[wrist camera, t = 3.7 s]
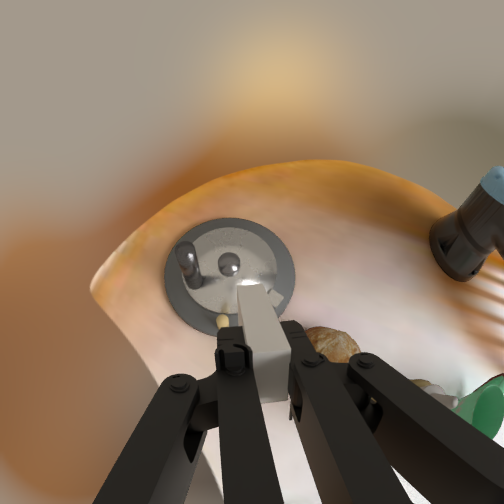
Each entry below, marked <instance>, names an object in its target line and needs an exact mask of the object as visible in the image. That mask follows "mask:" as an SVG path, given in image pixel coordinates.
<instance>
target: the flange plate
mask: <svg viewBox="0 0 504 504" xmlns="http://www.w3.org/2000/svg"><path fill="white" fill-rule="evenodd" d="M175 255H176V258H177V261H178V263H179V266H180V268H181V271H182V278H183V282H184V285H185V287H186V289H187V292H188V293H189V295H190V296H191V298H192V299H193V300H194V301H195V302H196V303H197V304H198V305H199V306H201V307H202V308H204V309H206V310H208V311H210V312H212V313H215V314H220V315H221V314H224V315H238V305H237V285H250V284H263V285H264V288H265V290H266V292H267V294H268V297H269V299H270V301H271V304H272V306H273V308H274V310H276V309H277V307H278V306H279V305H280V303H281V302H282V300H283V299H284V297H283V296H282V295H280V294H279V293H277V292H276V291H275V290H273V287H274V284H275V281H276V276H277V264H276V259H275V256H274V254H273V252H272V250H271V248H270V247H269V246H268V244H267V243H266V242H265V241H264V240H263V239H262V238H260V237H259V236H258V235H256V234H254V233H252V232H250V231H247V230H244V229H240V228H232V227H227V228H219V229H215V230H212V231H209V232H207V233H205V234H203V235H202V236H200V237H199V238H198V239H196V240H195V241H194V242H193V243H191V242H189V241H182V242H180V243H178V244H177V245H176V247H175Z"/></svg>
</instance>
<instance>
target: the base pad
mask: <svg viewBox="0 0 504 504" xmlns="http://www.w3.org/2000/svg"><path fill="white" fill-rule="evenodd" d="M227 227H232V228H240V229H244V230H247V231H250V232H252V233H254V234H256V235H258V236H259V237H260V238H262V239H263V240H264V241H265V242H266V243H267V244H268V246H269V247H270V248H271V250H272V252H273V254H274V256H275V259H276V264H277V276H276V281H275V284H274V287H273V290H275V291H276V292H277V293H279V294H280V295H282V296H283V297H284V299H283V300H282V302H281V303H280V305H279V306H278V307H277V309H276V310H274V311H275V313H276V315H277V318H279V316H280V315H281V314H282V313H283V311H284V310H285V308H286V307H287V305H288V303H289V301H290V299H291V296H292V294H293V290H294V285H295V269H294V264H293V261H292V258H291V255H290V253H289V251H288V249H287V248H286V246H285V245H284V243H283V242H282V241H281V240H280V239H279V238H278V237H277V236H276V235H275V234H274V233H273V232H271V231H270V230H269V229H267V228H265V227H263V226H262V225H260V224H257V223H255V222H252V221H248V220H244V219H239V218H222V219H215V220H211V221H208V222H205V223H202V224H200V225H198V226H196V227H194V228H193V229H191V230H190V231H188V232H187V233H186V234H185V235H184V236H182V237H181V238H180V240H179V241H178V242H177V243H176V244H175V246H174V247H173V249H172V251H171V252H170V254H169V257H168V260H167V262H166V267H165V275H164V280H165V288H166V292H167V295H168V298H169V300H170V302H171V304H172V306H173V308H174V309H175V311H176V312H177V313H178V315H179V316H180V317H181V318H182V319H183V320H184V321H185V322H186V323H187V324H189V325H190V326H191V327H193V328H194V329H196V330H198V331H200V332H202V333H205V334H208V335H210V336H215V337H217V332H218V331H219V330H220V328H221V327H233V326H239V324H238V315H224V314H221V315H220V314H215V313H212V312H210V311H208V310H206V309H204V308H202V307H201V306H199V305H198V304H197V303H196V302H195V301H194V300H193V299H192V298H191V296H190V295H189V293H188V292H187V289H186V287H185V285H184V282H183V278H182V271H181V268H180V266H179V263H178V261H177V258H176V255H175V247H176V245H177V244H178V243H180V242H182V241H189V242H191V243H193V242H194V241H195V240H196V239H198V238H199V237H200V236H202V235H203V234H205V233H207V232H209V231H212V230H215V229H219V228H227Z"/></svg>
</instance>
